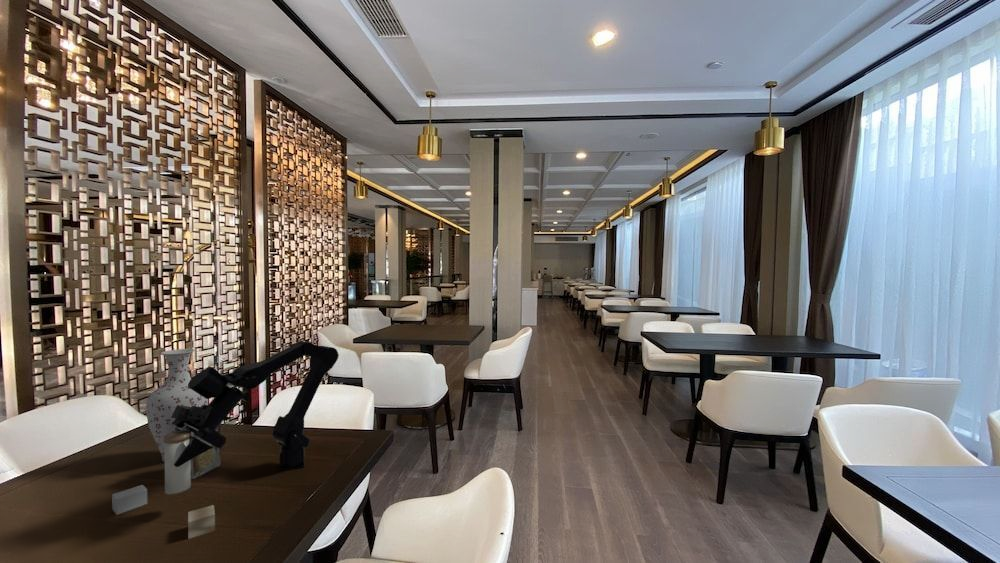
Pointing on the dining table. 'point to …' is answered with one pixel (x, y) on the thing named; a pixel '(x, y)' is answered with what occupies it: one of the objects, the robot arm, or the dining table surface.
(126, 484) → the dining table surface
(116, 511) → the grey block
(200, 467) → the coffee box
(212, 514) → the birch block
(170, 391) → the vase
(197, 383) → the robot arm
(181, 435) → the ceramic jar
